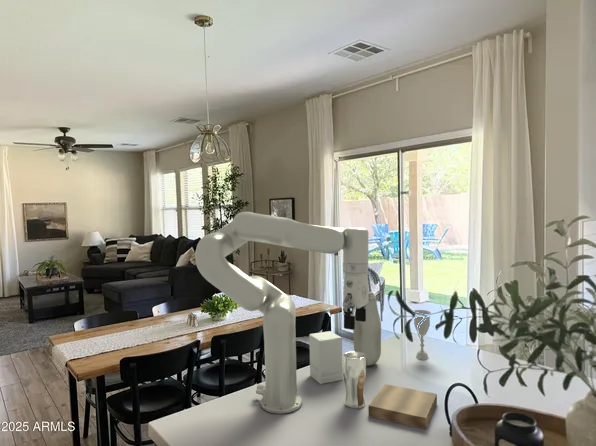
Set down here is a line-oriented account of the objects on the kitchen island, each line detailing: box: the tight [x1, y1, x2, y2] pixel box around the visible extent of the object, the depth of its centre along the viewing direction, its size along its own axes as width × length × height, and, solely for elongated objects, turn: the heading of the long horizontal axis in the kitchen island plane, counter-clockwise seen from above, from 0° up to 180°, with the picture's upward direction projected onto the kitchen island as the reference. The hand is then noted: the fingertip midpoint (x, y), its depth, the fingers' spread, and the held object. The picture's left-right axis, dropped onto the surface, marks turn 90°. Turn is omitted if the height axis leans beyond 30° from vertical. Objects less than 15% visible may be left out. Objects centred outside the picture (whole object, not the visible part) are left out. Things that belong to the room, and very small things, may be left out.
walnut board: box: [367, 383, 438, 430], centre depth 120 cm, size 16×16×3 cm
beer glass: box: [342, 350, 367, 409], centre depth 124 cm, size 7×7×15 cm
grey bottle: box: [352, 290, 382, 367], centre depth 155 cm, size 10×10×28 cm
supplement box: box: [308, 330, 344, 385], centre depth 144 cm, size 9×9×15 cm
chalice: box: [413, 309, 432, 361], centre depth 161 cm, size 7×7×18 cm
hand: (355, 324), depth 124 cm, fingers open, 9 cm apart
